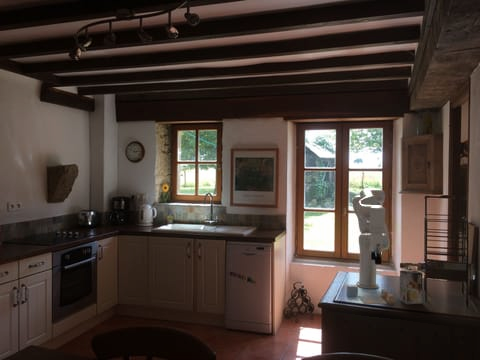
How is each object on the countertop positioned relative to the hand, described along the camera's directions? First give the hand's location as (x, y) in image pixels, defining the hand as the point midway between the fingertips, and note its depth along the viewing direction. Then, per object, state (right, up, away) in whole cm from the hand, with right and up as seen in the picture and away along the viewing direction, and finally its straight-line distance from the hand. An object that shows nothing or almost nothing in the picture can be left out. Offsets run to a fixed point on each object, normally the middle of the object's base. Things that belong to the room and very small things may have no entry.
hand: (376, 261), depth 200 cm
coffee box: (+17, -21, -4) cm, 27 cm away
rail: (+5, -20, -2) cm, 21 cm away
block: (-11, -20, +5) cm, 23 cm away
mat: (-3, -20, -2) cm, 20 cm away
